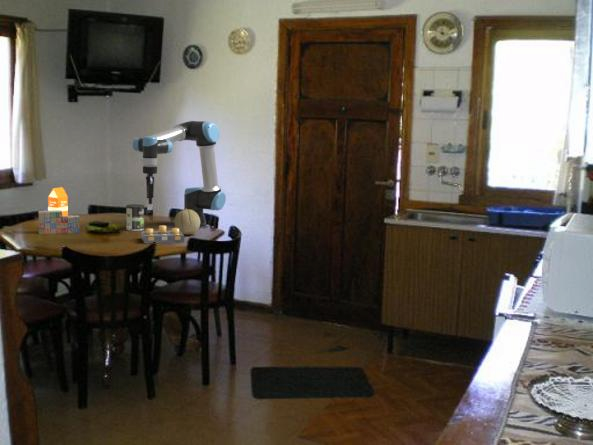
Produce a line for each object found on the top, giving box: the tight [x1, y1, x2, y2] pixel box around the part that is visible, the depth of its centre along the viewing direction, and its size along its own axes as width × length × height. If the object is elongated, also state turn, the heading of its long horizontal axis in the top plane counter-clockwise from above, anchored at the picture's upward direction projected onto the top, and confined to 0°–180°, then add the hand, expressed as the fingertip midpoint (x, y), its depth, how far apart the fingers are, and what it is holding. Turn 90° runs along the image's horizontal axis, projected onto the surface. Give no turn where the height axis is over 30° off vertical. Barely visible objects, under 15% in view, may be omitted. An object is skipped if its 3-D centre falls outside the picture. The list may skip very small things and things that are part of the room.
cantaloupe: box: [174, 208, 201, 236], centre depth 405 cm, size 15×15×15 cm
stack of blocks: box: [38, 210, 80, 235], centre depth 396 cm, size 21×6×12 cm, turn 108°
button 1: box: [145, 227, 154, 234], centre depth 383 cm, size 4×4×5 cm
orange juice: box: [47, 187, 69, 216], centre depth 434 cm, size 8×9×20 cm
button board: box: [140, 230, 185, 244], centre depth 386 cm, size 21×14×4 cm
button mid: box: [158, 224, 167, 234], centre depth 385 cm, size 4×4×5 cm
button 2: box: [171, 227, 179, 234], centre depth 388 cm, size 4×4×5 cm
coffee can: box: [125, 204, 145, 232], centre depth 415 cm, size 10×10×14 cm
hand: (150, 209), depth 381 cm, fingers closed
